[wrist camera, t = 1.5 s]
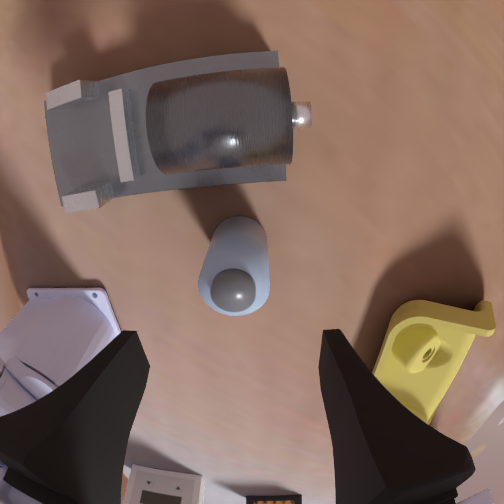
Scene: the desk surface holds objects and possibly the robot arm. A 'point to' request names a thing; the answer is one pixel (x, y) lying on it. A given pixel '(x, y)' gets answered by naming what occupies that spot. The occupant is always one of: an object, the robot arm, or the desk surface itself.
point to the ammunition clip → (274, 499)
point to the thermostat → (163, 487)
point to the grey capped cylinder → (236, 268)
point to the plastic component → (428, 351)
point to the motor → (173, 128)
